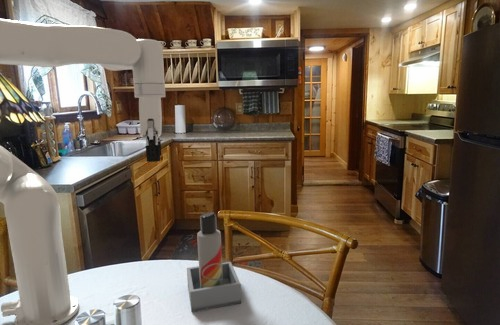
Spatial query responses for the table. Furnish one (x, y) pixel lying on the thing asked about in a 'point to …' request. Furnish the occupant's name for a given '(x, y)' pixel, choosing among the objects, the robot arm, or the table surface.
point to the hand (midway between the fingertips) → (154, 158)
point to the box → (214, 289)
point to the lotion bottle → (209, 252)
